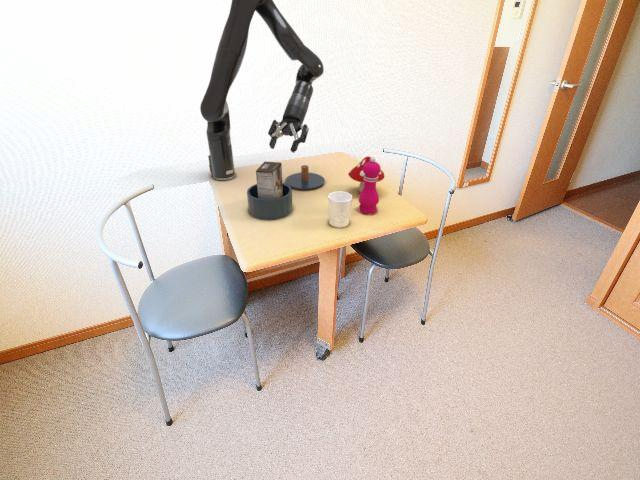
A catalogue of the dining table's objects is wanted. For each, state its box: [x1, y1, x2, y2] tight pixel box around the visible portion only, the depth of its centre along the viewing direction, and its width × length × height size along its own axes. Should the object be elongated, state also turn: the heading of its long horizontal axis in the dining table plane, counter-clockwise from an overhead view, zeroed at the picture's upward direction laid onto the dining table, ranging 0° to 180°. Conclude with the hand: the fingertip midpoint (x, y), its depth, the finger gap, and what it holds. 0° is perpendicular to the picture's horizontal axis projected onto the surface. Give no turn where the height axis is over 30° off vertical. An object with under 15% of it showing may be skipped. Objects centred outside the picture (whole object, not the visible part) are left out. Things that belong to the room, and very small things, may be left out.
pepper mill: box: [358, 156, 382, 215], centre depth 124 cm, size 7×7×20 cm
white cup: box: [327, 190, 353, 228], centre depth 119 cm, size 8×8×10 cm
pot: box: [246, 182, 293, 221], centre depth 127 cm, size 16×16×8 cm
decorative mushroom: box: [347, 156, 385, 193], centre depth 138 cm, size 14×14×15 cm
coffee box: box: [255, 161, 284, 200], centre depth 124 cm, size 9×6×16 cm
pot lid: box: [284, 164, 326, 190], centre depth 148 cm, size 17×17×7 cm
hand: (281, 149), depth 126 cm, fingers open, 8 cm apart
